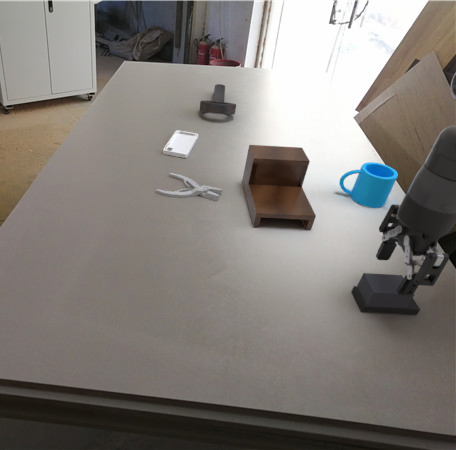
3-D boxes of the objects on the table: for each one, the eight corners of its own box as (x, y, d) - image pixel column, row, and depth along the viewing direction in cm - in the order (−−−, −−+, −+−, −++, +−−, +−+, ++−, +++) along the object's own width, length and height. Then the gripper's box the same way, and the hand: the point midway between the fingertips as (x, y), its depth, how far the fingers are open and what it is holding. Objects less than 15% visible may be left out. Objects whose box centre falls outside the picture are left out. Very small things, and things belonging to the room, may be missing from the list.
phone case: (186, 158, 115) (198, 137, 127) (187, 154, 114) (199, 133, 126) (162, 154, 117) (175, 133, 128) (162, 149, 116) (176, 129, 127)
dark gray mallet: (202, 104, 162) (198, 111, 135) (204, 82, 159) (201, 85, 131) (232, 107, 161) (235, 115, 133) (235, 85, 158) (239, 88, 130)
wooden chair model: (291, 185, 106) (302, 147, 99) (310, 230, 91) (325, 188, 84) (241, 183, 106) (249, 144, 99) (253, 227, 91) (263, 185, 84)
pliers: (170, 169, 107) (225, 182, 102) (170, 174, 108) (224, 188, 103) (156, 187, 99) (215, 202, 95) (156, 192, 100) (214, 208, 96)
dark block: (404, 294, 76) (415, 275, 73) (416, 315, 72) (429, 295, 69) (351, 291, 76) (360, 272, 73) (361, 312, 72) (371, 292, 69)
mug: (381, 193, 105) (394, 165, 100) (387, 210, 98) (401, 181, 93) (333, 185, 107) (343, 157, 102) (336, 201, 101) (347, 173, 96)
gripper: (491, 227, 54) (434, 308, 64) (436, 174, 66) (395, 249, 76) (436, 224, 54) (387, 305, 64) (390, 171, 66) (355, 247, 75)
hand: (391, 275), depth 70 cm, fingers open, 8 cm apart
